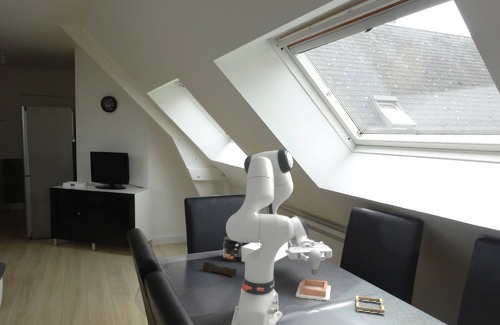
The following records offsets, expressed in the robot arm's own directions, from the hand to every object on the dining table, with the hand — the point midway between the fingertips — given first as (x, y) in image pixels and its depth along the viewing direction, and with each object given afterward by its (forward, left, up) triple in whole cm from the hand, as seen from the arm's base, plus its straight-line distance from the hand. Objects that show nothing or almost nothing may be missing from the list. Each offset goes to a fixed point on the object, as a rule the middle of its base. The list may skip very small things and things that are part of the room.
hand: (315, 258), depth 154 cm
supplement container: (+31, +48, -16) cm, 59 cm away
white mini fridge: (+37, +31, -16) cm, 51 cm away
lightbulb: (+1, 0, -7) cm, 8 cm away
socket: (+1, 0, -15) cm, 16 cm away
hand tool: (+9, +48, -16) cm, 52 cm away
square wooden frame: (-6, -23, -15) cm, 28 cm away
